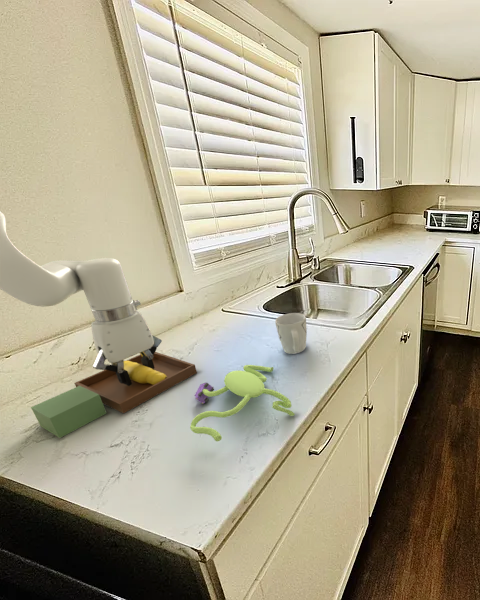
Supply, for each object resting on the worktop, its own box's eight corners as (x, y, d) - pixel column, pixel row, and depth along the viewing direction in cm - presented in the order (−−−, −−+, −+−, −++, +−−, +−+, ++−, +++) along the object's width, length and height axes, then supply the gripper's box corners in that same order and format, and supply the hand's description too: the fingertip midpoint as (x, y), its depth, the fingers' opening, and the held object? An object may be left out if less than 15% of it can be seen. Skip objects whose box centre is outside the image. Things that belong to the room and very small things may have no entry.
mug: (314, 356, 93) (310, 325, 89) (283, 364, 90) (278, 331, 86) (306, 340, 103) (302, 310, 99) (278, 346, 99) (273, 316, 96)
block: (40, 426, 68) (30, 407, 66) (87, 403, 75) (79, 385, 73) (59, 438, 65) (49, 418, 63) (106, 413, 72) (99, 394, 70)
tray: (78, 392, 79) (74, 383, 78) (153, 357, 94) (150, 349, 93) (123, 413, 72) (119, 404, 71) (197, 372, 86) (194, 364, 85)
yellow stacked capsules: (110, 375, 84) (108, 360, 83) (129, 368, 88) (127, 355, 87) (151, 392, 77) (149, 376, 76) (170, 384, 81) (168, 369, 80)
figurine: (197, 464, 59) (189, 440, 57) (192, 388, 80) (187, 369, 78) (299, 424, 68) (295, 402, 66) (271, 365, 89) (267, 347, 87)
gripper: (144, 297, 84) (164, 358, 91) (59, 323, 70) (90, 393, 76) (162, 301, 81) (181, 364, 88) (77, 329, 67) (107, 402, 73)
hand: (138, 377), depth 82 cm, fingers open, 4 cm apart
